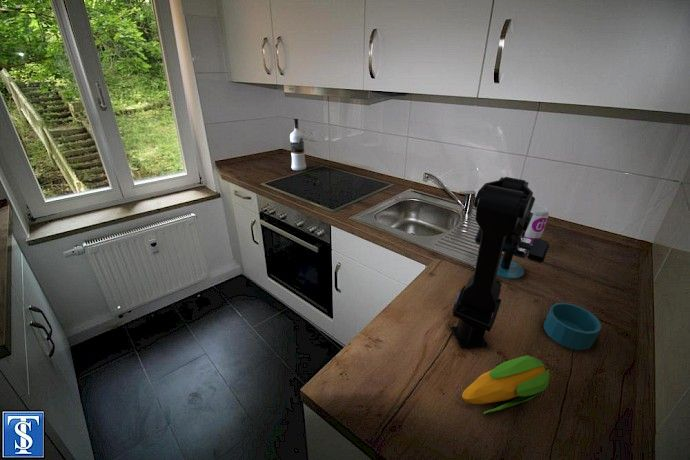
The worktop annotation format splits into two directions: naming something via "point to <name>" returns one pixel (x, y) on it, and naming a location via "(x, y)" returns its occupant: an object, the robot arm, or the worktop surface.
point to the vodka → (297, 148)
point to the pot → (572, 326)
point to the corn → (509, 383)
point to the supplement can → (537, 223)
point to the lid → (509, 267)
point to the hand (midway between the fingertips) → (510, 251)
